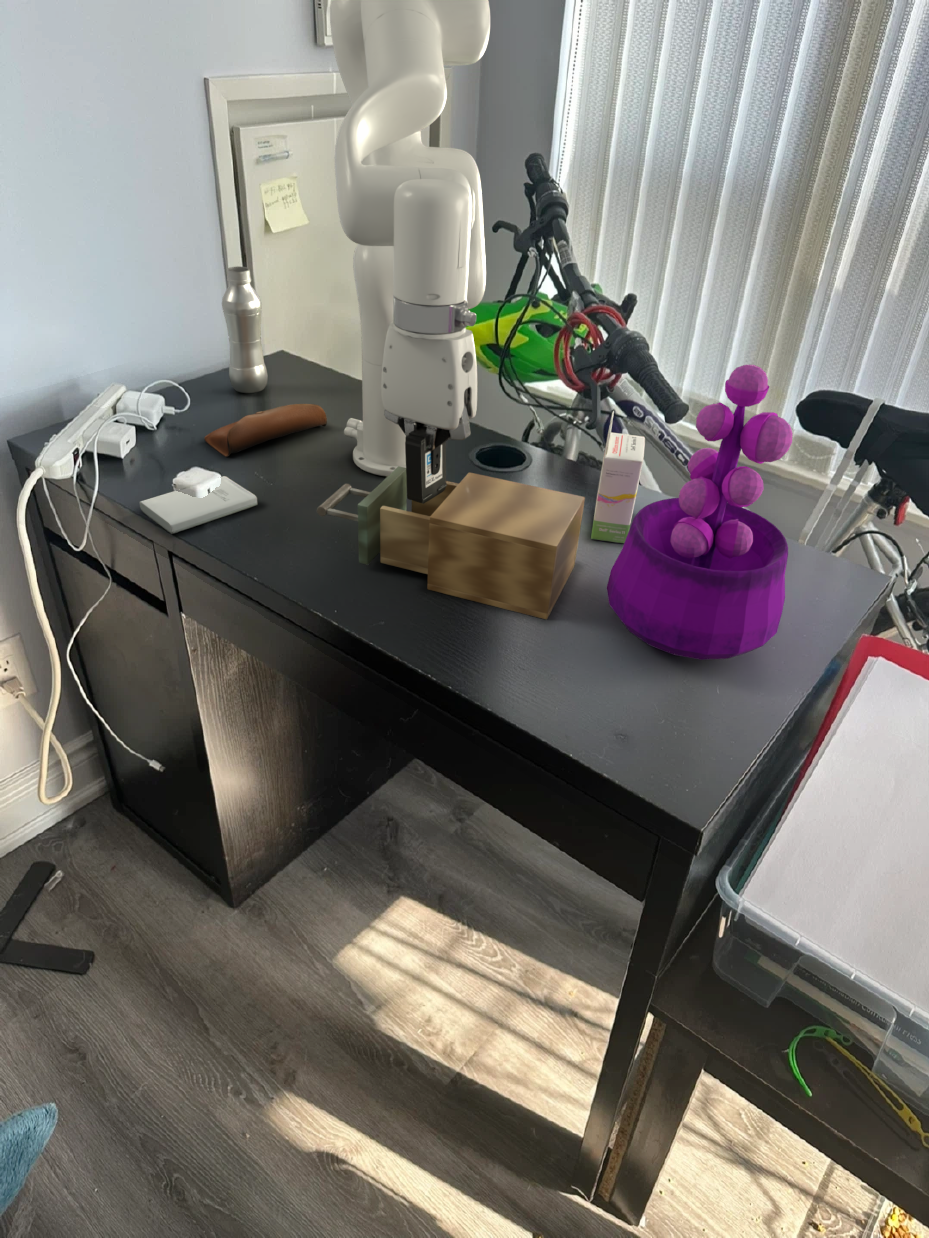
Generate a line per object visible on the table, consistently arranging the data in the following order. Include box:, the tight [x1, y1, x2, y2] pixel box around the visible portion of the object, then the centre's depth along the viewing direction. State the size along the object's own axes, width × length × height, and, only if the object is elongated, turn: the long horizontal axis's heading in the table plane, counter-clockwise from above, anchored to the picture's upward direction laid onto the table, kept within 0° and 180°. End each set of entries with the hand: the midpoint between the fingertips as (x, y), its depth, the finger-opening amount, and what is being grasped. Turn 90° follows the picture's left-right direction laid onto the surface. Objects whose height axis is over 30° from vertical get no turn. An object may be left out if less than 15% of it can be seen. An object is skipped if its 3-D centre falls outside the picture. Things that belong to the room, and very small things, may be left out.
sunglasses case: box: [203, 403, 328, 458], centre depth 130 cm, size 18×7×7 cm
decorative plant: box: [606, 364, 794, 661], centre depth 86 cm, size 19×18×30 cm
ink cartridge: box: [405, 425, 447, 504], centre depth 96 cm, size 5×2×8 cm, turn 147°
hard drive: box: [139, 475, 258, 535], centre depth 110 cm, size 2×8×12 cm
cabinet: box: [426, 472, 586, 620], centre depth 98 cm, size 15×13×10 cm
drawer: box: [316, 466, 459, 575], centre depth 102 cm, size 20×11×8 cm, turn 70°
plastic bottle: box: [221, 265, 269, 394], centre depth 140 cm, size 6×7×20 cm
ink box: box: [590, 410, 646, 544], centre depth 108 cm, size 9×5×15 cm, turn 168°
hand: (425, 476), depth 97 cm, fingers closed
